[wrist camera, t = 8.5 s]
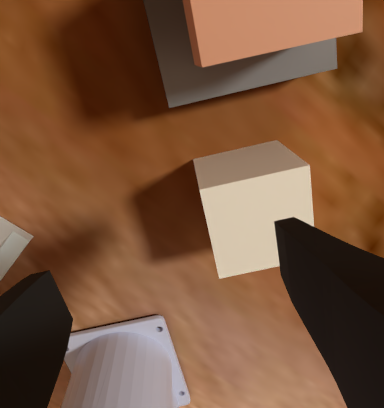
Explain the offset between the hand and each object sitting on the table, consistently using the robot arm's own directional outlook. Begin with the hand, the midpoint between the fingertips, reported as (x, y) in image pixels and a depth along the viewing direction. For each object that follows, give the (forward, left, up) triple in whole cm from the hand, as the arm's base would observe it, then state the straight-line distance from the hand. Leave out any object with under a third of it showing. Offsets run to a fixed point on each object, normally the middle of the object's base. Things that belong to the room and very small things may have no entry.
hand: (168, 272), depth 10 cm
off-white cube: (-2, -4, -10) cm, 11 cm away
